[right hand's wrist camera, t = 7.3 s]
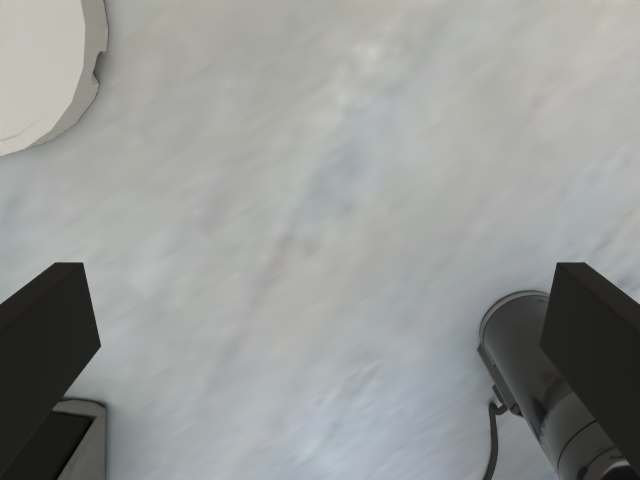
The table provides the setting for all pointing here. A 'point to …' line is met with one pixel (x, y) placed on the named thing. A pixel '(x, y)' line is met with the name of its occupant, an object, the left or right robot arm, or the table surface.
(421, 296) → the table surface
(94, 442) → the electronic device
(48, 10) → the ashtray
